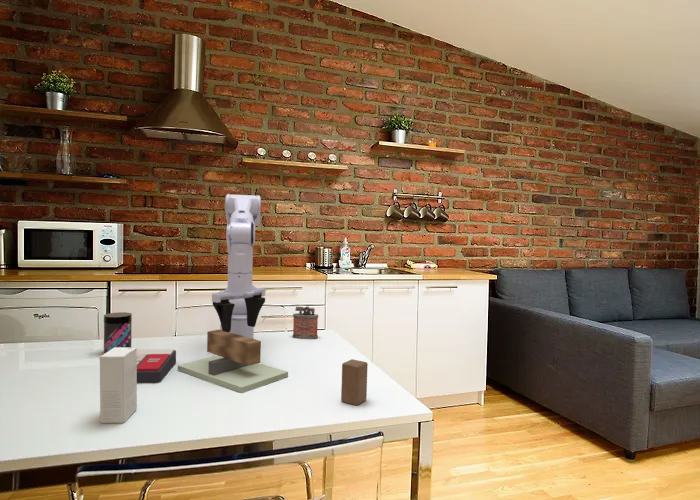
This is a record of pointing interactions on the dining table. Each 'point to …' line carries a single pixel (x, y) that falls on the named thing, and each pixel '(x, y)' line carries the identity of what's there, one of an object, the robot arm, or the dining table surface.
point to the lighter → (305, 323)
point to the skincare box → (118, 384)
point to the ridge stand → (232, 373)
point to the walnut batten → (234, 347)
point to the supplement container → (117, 330)
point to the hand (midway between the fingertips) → (239, 328)
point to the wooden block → (354, 382)
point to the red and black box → (154, 364)
